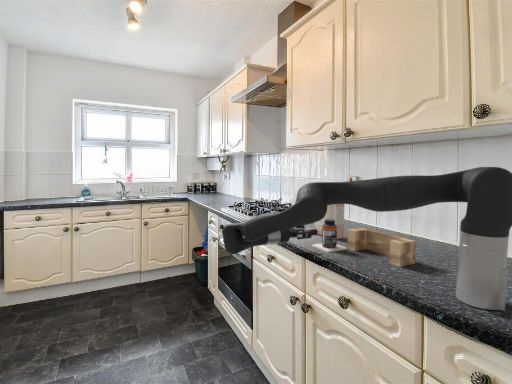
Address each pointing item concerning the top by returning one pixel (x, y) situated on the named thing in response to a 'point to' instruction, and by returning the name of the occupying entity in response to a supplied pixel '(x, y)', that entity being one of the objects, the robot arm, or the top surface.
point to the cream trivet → (329, 248)
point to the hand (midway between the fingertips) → (310, 229)
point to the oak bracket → (383, 245)
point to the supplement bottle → (329, 234)
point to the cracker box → (336, 214)
